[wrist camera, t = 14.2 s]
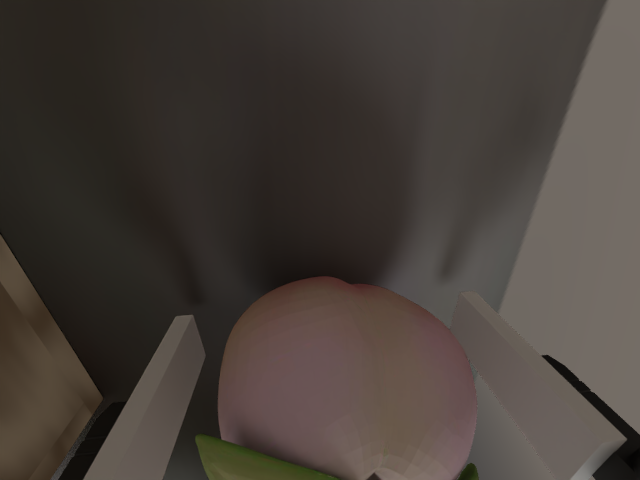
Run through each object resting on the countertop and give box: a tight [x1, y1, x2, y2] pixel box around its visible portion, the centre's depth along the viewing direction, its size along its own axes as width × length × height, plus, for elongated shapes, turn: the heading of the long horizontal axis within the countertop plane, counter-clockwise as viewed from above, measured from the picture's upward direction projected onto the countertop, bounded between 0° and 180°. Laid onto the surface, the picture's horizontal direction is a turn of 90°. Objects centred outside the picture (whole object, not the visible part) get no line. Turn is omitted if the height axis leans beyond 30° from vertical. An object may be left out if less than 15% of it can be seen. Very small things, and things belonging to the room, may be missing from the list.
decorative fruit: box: [195, 276, 479, 480], centre depth 10 cm, size 9×8×10 cm
